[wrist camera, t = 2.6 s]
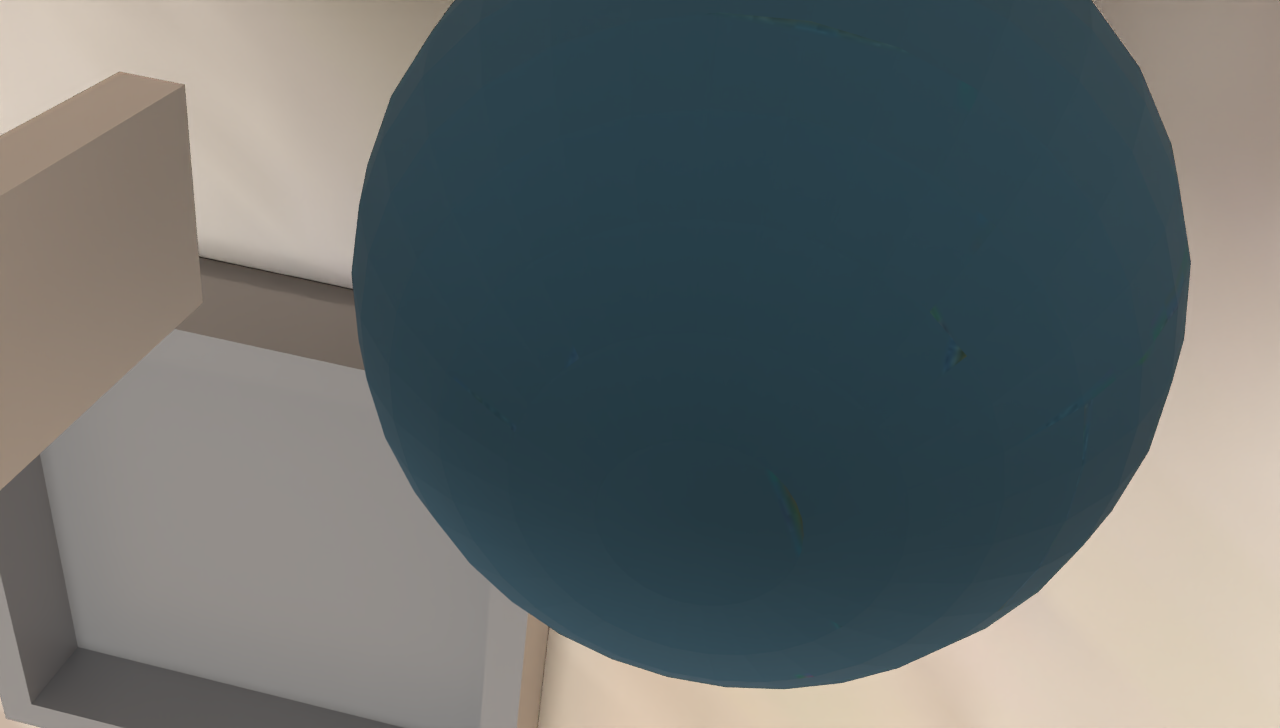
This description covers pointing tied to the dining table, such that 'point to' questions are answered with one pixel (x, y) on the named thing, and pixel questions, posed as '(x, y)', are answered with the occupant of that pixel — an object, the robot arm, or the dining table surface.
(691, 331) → the light bulb
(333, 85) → the dining table surface
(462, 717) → the parts tray
